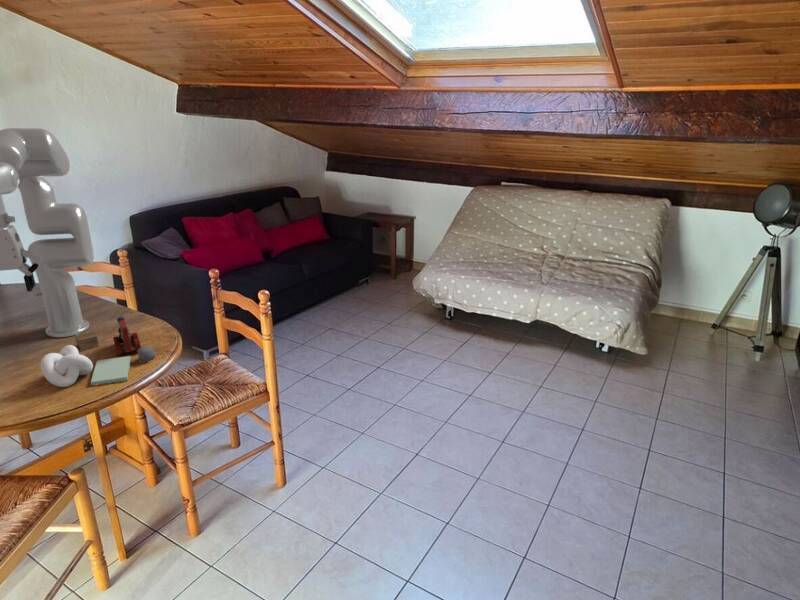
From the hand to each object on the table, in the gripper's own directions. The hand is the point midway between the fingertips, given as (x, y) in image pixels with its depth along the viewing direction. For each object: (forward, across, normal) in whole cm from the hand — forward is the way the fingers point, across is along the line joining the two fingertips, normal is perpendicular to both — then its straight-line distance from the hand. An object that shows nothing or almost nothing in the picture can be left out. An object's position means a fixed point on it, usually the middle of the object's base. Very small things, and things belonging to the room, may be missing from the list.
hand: (7, 291), depth 124 cm
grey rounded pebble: (+31, -26, -15) cm, 43 cm away
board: (+31, -17, -10) cm, 36 cm away
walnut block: (+31, -8, -30) cm, 44 cm away
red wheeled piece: (+31, -20, -24) cm, 44 cm away
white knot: (+31, -6, -10) cm, 33 cm away
